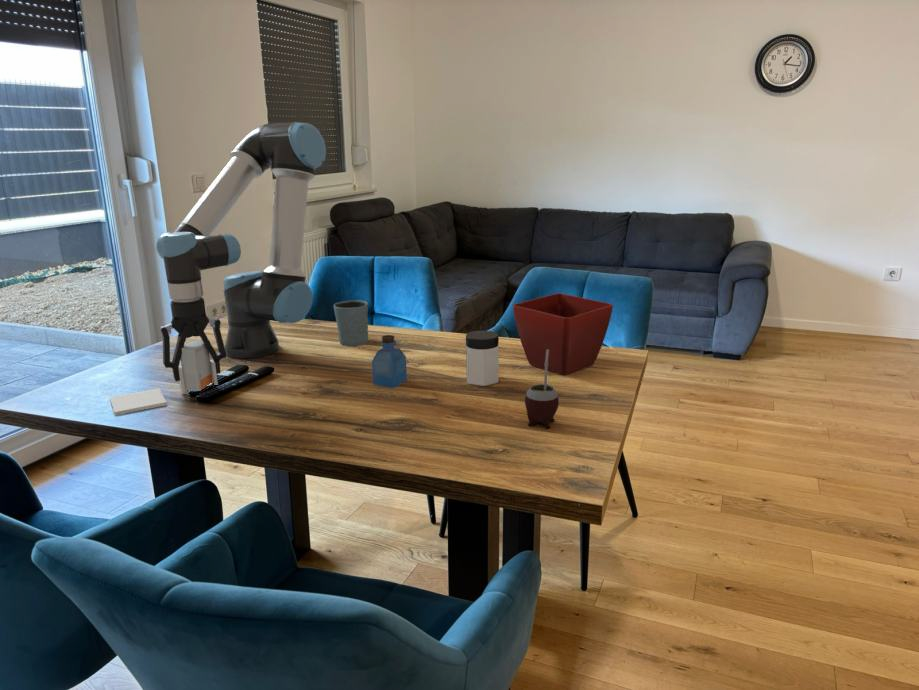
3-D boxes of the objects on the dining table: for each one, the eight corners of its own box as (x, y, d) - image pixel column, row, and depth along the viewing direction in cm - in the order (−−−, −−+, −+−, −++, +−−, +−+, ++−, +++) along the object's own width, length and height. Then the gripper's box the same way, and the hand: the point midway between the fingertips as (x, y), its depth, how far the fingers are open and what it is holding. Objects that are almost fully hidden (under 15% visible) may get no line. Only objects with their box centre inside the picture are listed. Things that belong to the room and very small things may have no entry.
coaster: (159, 391, 166) (159, 388, 166) (166, 405, 157) (166, 401, 157) (110, 400, 161) (109, 397, 160) (114, 415, 152) (114, 412, 151)
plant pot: (565, 382, 167) (567, 317, 162) (510, 365, 181) (510, 304, 176) (611, 365, 179) (615, 304, 174) (557, 350, 193) (558, 292, 188)
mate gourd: (535, 432, 139) (536, 364, 135) (517, 419, 146) (517, 353, 142) (565, 426, 142) (568, 359, 138) (546, 413, 149) (548, 348, 144)
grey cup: (367, 347, 199) (365, 307, 195) (333, 347, 199) (330, 308, 195) (372, 337, 208) (369, 299, 205) (339, 337, 208) (336, 300, 205)
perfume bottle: (406, 380, 171) (405, 334, 167) (394, 388, 166) (392, 341, 162) (386, 376, 173) (383, 332, 170) (373, 384, 168) (370, 338, 165)
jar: (500, 386, 165) (500, 339, 162) (467, 387, 165) (466, 340, 162) (497, 374, 174) (497, 329, 170) (465, 374, 174) (465, 330, 170)
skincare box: (200, 395, 163) (194, 348, 159) (185, 394, 163) (178, 347, 160) (214, 386, 168) (208, 341, 165) (199, 386, 169) (192, 340, 166)
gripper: (226, 290, 167) (236, 377, 174) (139, 301, 157) (153, 392, 164) (233, 295, 161) (244, 385, 168) (143, 307, 151) (158, 402, 158)
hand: (199, 389), depth 166 cm, fingers closed on skincare box, 7 cm apart
